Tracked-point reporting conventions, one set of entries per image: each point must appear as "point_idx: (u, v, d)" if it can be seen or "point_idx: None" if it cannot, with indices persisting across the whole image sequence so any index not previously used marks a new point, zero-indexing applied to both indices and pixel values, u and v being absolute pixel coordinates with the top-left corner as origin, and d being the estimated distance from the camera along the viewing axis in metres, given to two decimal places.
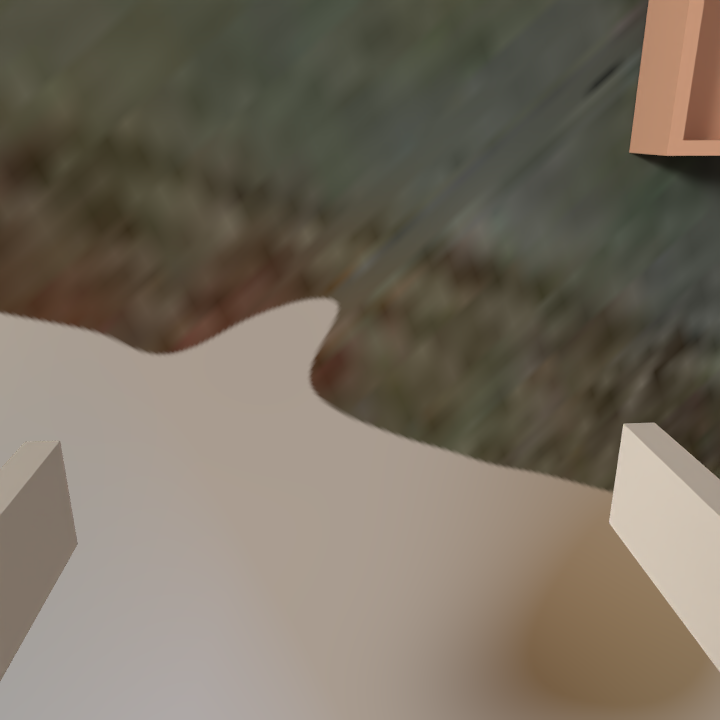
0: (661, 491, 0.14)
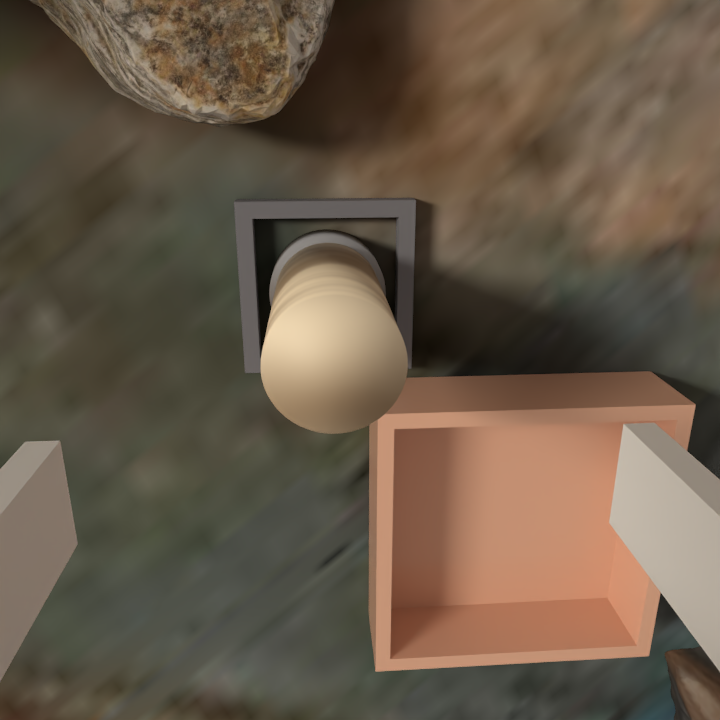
0: (661, 491, 0.14)
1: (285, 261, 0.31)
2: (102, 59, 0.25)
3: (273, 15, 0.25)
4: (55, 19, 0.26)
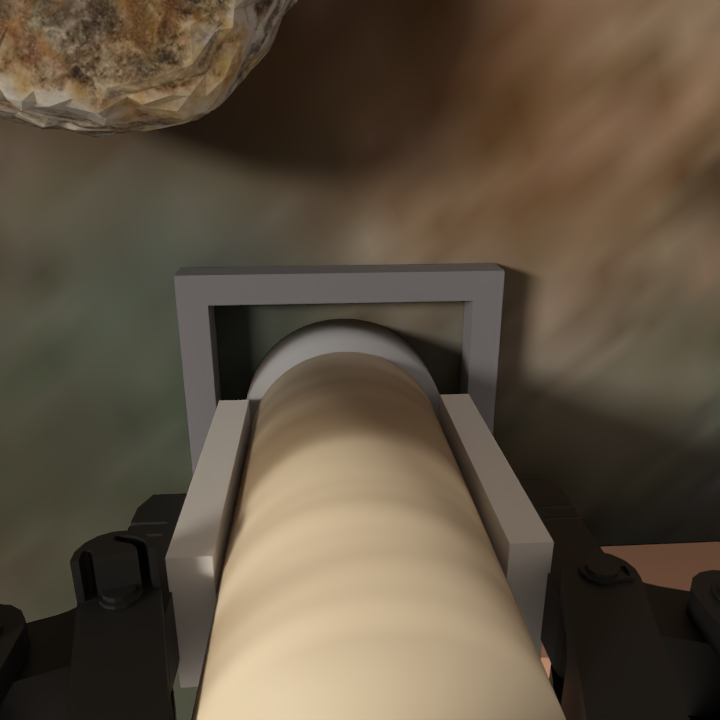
0: (454, 451, 0.15)
1: (268, 385, 0.17)
2: None
3: None
4: None
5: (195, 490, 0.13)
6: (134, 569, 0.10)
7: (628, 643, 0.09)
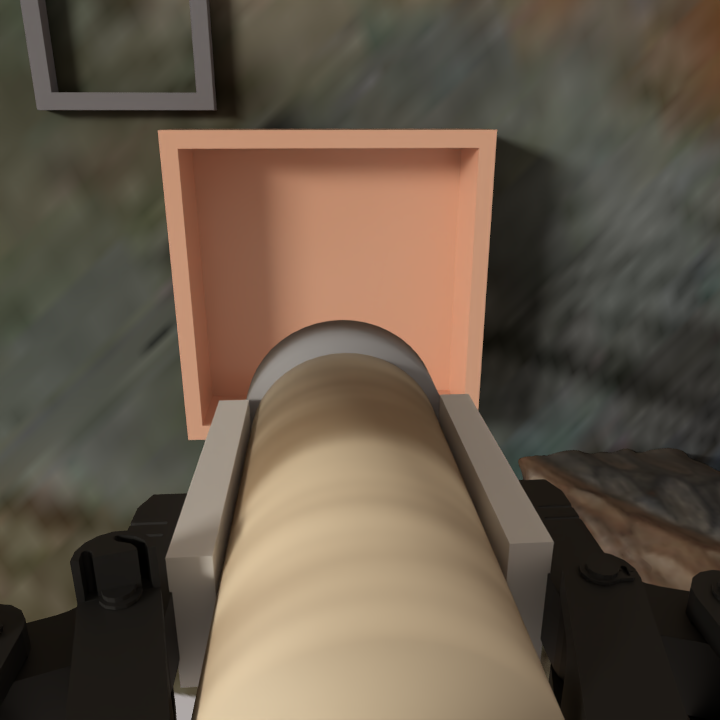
0: (454, 451, 0.15)
1: (268, 386, 0.17)
2: None
3: None
4: None
5: (195, 490, 0.13)
6: (134, 569, 0.10)
7: (628, 643, 0.09)
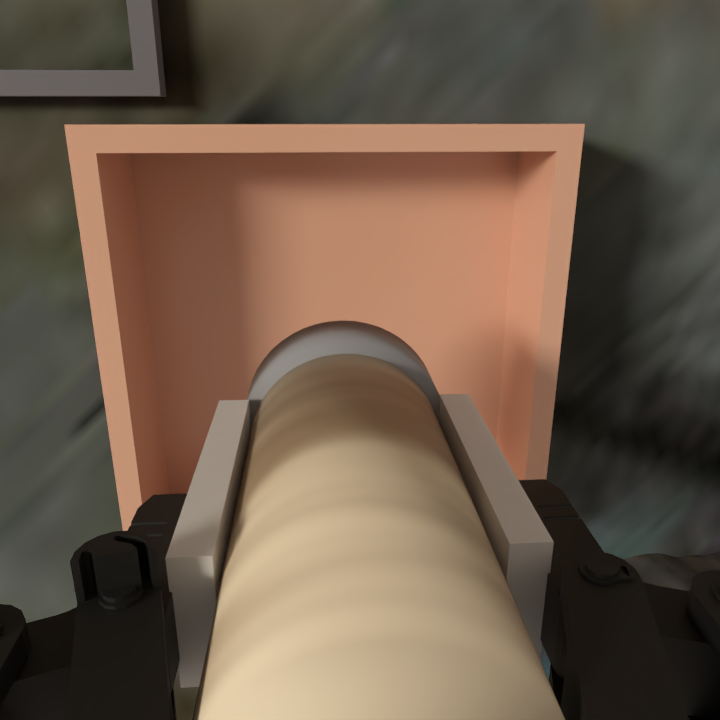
0: (454, 451, 0.15)
1: (268, 387, 0.17)
2: None
3: None
4: None
5: (195, 490, 0.13)
6: (134, 569, 0.10)
7: (628, 643, 0.09)
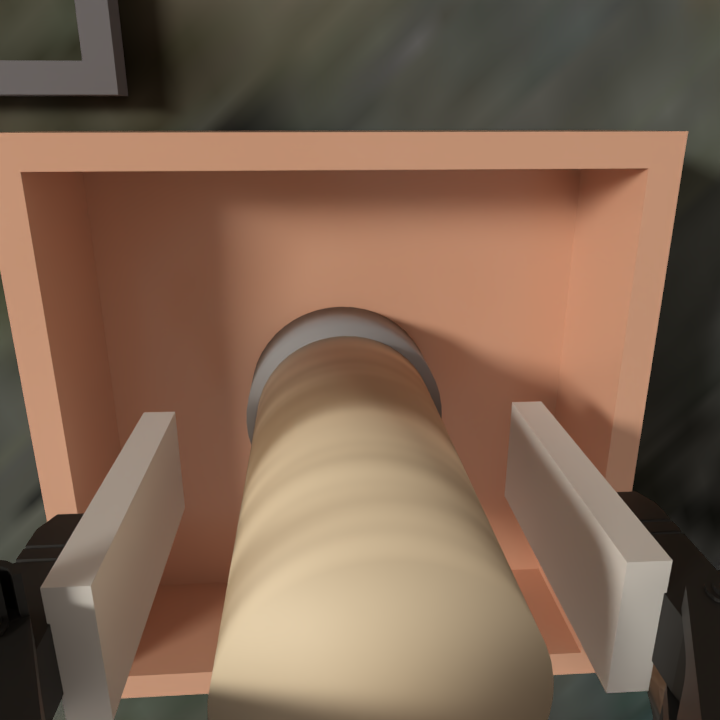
0: (535, 461, 0.15)
1: (273, 367, 0.18)
2: None
3: None
4: None
5: (92, 511, 0.12)
6: None
7: None
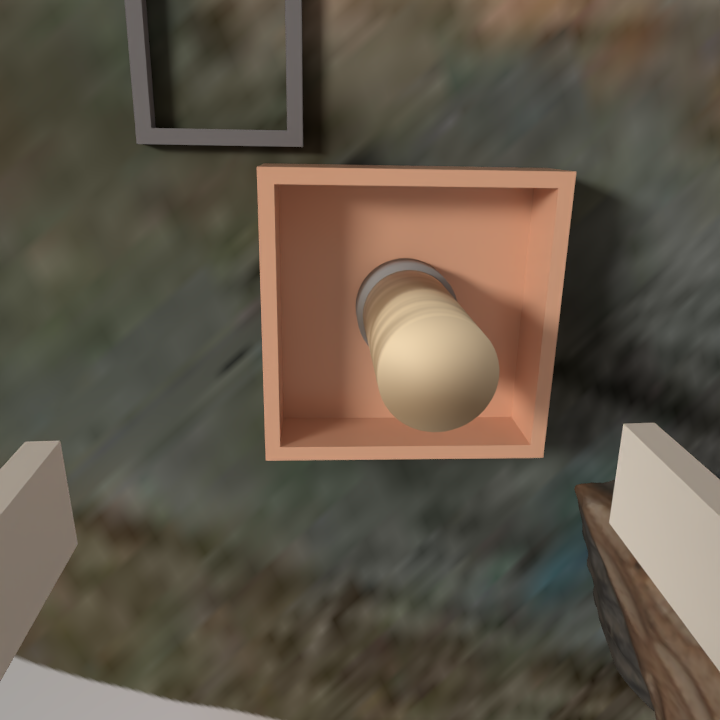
0: (661, 491, 0.14)
1: (373, 285, 0.36)
2: None
3: None
4: None
5: None
6: None
7: None
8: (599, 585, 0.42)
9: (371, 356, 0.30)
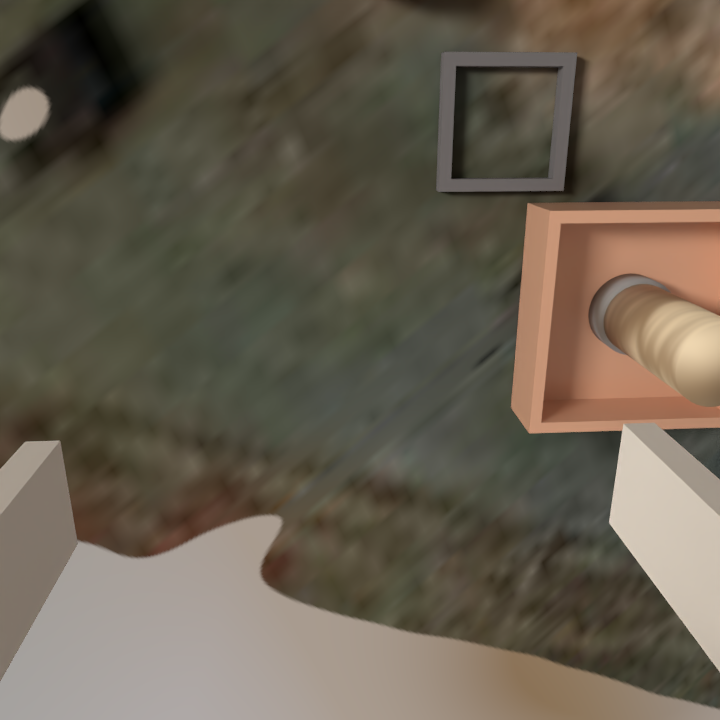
0: (661, 491, 0.14)
1: (614, 296, 0.46)
2: None
3: None
4: None
5: None
6: None
7: None
8: None
9: (646, 352, 0.41)
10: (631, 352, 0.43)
